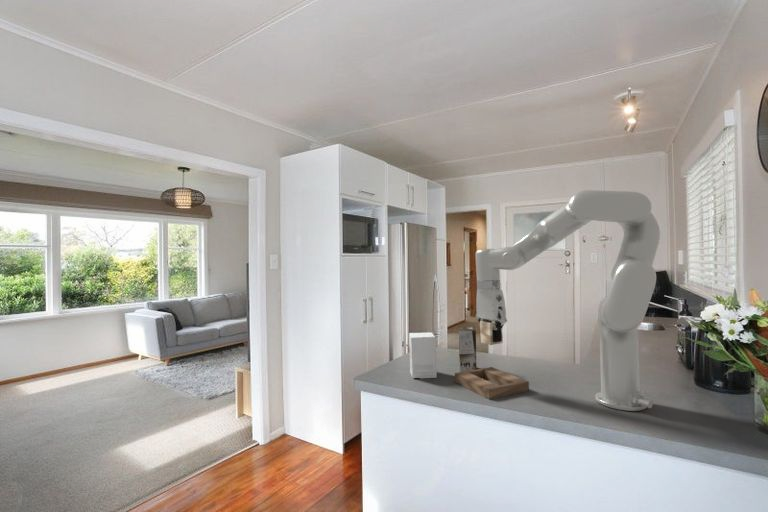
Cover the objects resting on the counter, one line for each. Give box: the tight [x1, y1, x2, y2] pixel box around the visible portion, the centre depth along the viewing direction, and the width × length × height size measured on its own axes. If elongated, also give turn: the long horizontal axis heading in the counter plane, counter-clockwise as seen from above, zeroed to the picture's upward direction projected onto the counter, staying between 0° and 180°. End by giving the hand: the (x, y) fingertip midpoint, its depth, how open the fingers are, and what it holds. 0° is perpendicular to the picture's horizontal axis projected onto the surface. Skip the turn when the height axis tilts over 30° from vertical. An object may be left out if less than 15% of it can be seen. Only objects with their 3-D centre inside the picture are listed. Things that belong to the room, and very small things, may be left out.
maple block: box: [479, 320, 504, 346], centre depth 125 cm, size 5×5×7 cm
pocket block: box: [454, 366, 530, 400], centre depth 125 cm, size 18×16×3 cm
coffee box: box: [458, 326, 477, 372], centre depth 143 cm, size 9×6×16 cm
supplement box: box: [408, 332, 437, 380], centre depth 139 cm, size 9×9×15 cm
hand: (491, 339), depth 125 cm, fingers closed on maple block, 5 cm apart
